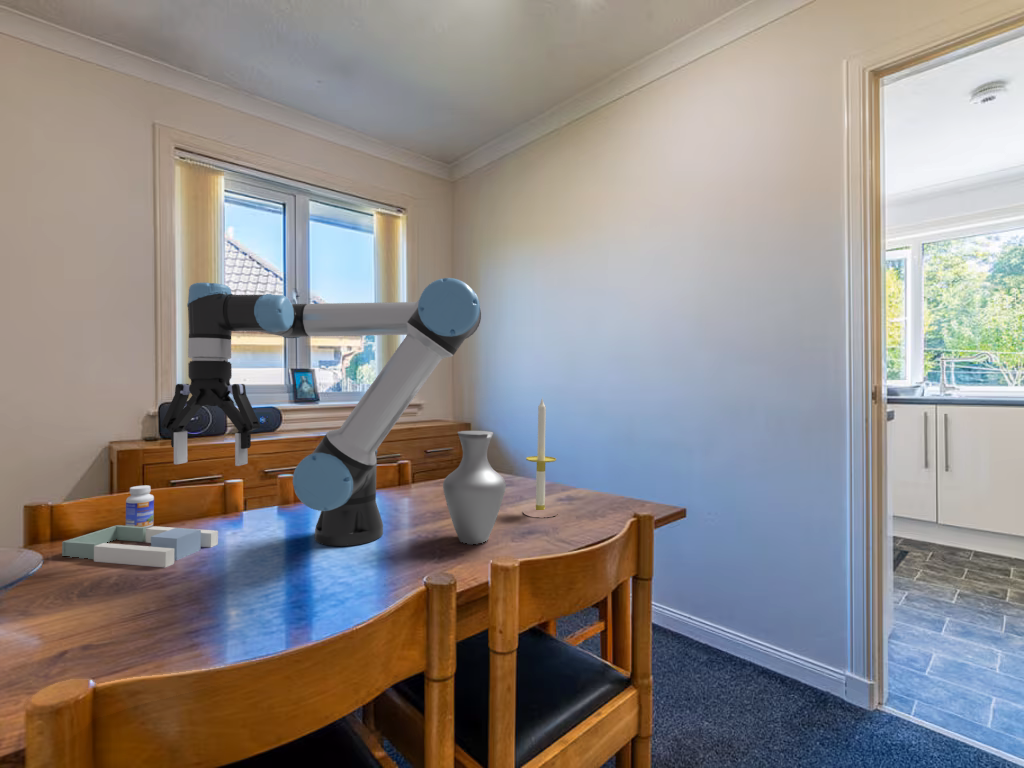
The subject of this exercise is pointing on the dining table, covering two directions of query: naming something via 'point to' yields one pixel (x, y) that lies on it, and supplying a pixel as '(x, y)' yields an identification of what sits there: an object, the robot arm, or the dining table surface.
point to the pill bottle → (140, 507)
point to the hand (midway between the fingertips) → (210, 464)
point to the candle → (541, 458)
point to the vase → (474, 490)
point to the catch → (101, 540)
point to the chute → (146, 550)
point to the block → (179, 541)
